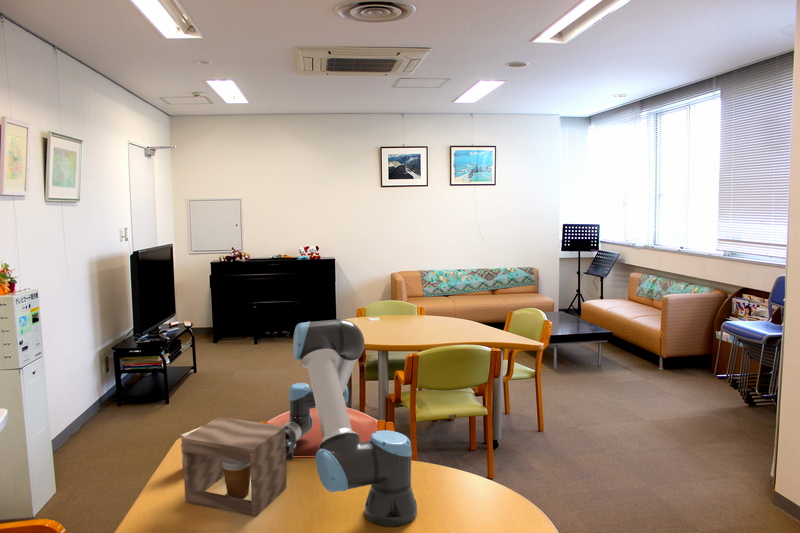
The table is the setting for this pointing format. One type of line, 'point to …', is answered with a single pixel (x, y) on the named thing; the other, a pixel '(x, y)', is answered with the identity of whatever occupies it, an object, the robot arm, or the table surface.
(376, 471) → the robot arm
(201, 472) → the walnut cubby
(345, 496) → the table surface
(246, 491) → the disposable coffee cup
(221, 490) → the table surface
